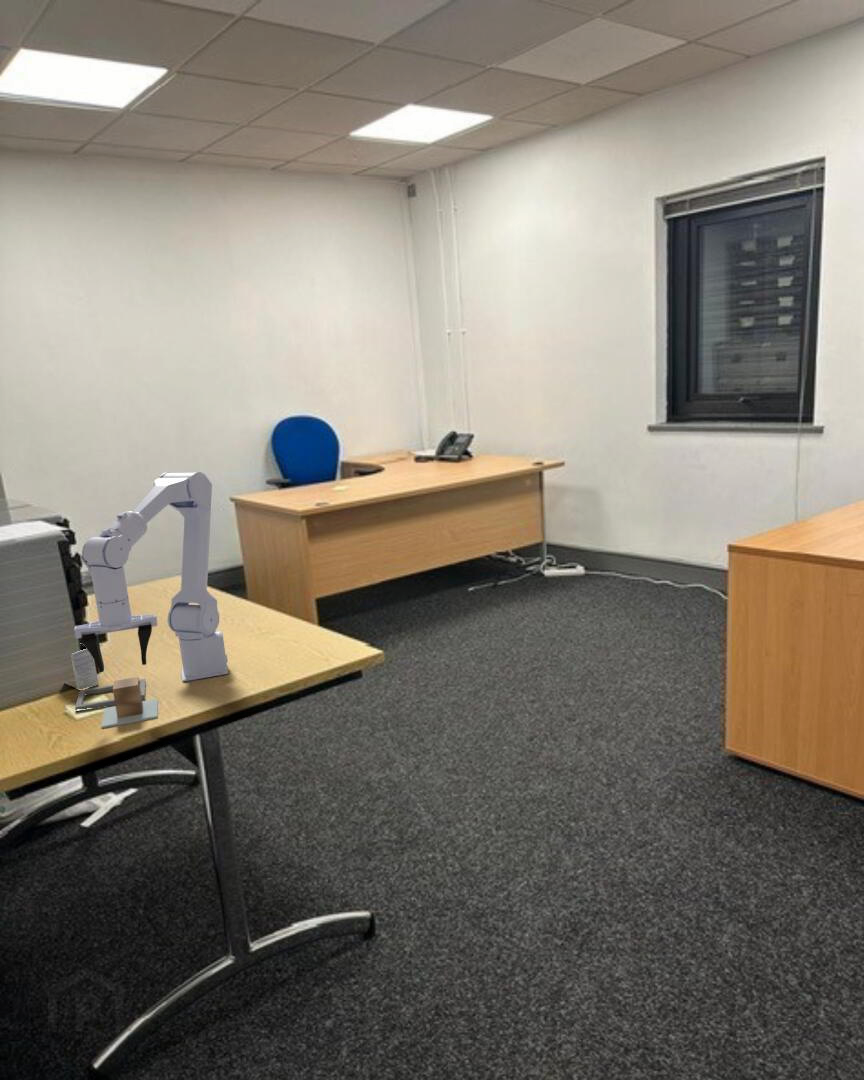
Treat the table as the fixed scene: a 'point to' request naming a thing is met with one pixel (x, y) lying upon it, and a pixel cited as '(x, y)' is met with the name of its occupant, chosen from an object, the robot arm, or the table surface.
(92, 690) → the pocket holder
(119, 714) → the walnut block
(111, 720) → the mat
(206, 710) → the table surface
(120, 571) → the robot arm
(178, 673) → the table surface
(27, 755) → the table surface
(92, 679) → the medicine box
